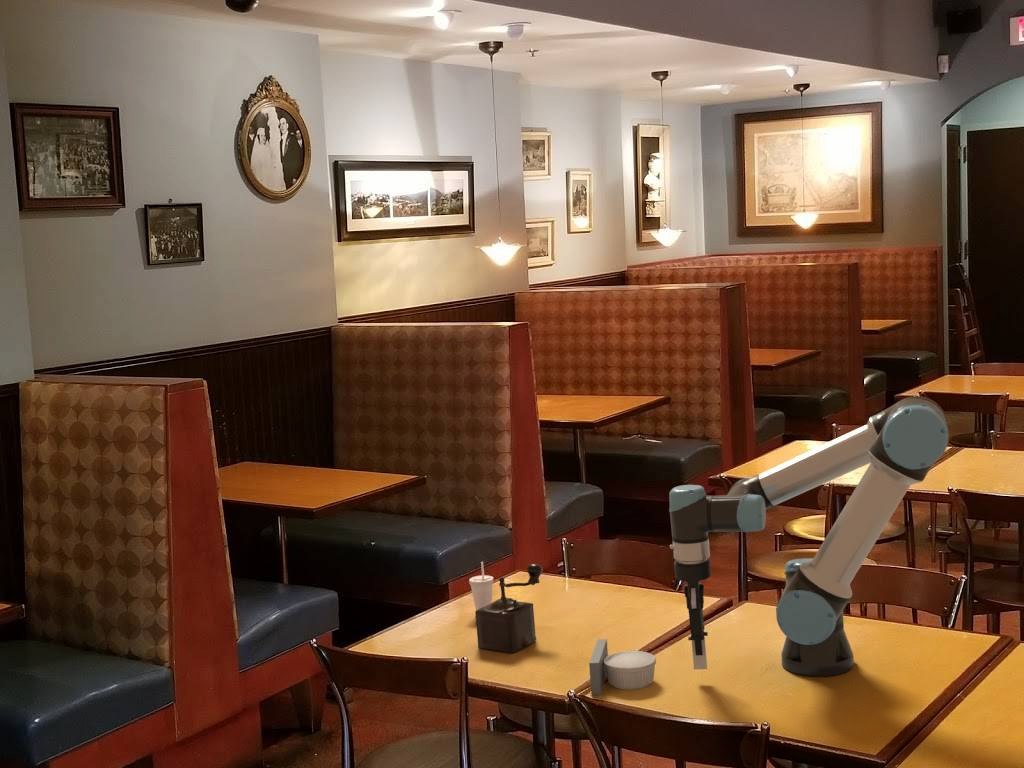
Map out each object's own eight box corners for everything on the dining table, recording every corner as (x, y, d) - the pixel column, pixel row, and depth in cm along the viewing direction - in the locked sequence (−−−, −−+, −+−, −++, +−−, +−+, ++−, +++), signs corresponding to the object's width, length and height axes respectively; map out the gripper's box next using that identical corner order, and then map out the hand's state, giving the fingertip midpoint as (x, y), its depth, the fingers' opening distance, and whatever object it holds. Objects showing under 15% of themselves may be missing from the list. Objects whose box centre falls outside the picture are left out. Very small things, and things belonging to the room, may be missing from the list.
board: (608, 669, 269) (606, 639, 269) (600, 695, 255) (598, 663, 254) (599, 669, 270) (597, 639, 269) (591, 695, 255) (589, 663, 254)
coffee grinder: (515, 654, 284) (509, 579, 282) (476, 648, 290) (470, 575, 288) (551, 634, 297) (545, 562, 294) (513, 629, 303) (508, 558, 301)
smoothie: (496, 617, 313) (491, 564, 311) (471, 619, 313) (466, 566, 311) (496, 610, 319) (492, 558, 318) (472, 612, 319) (468, 559, 318)
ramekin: (607, 673, 268) (605, 650, 267) (658, 672, 266) (656, 649, 265) (602, 692, 257) (600, 668, 256) (655, 692, 255) (654, 667, 254)
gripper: (675, 552, 262) (684, 657, 265) (672, 568, 250) (681, 679, 252) (710, 550, 261) (719, 657, 264) (709, 567, 248) (717, 678, 251)
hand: (700, 667), depth 258 cm, fingers closed
